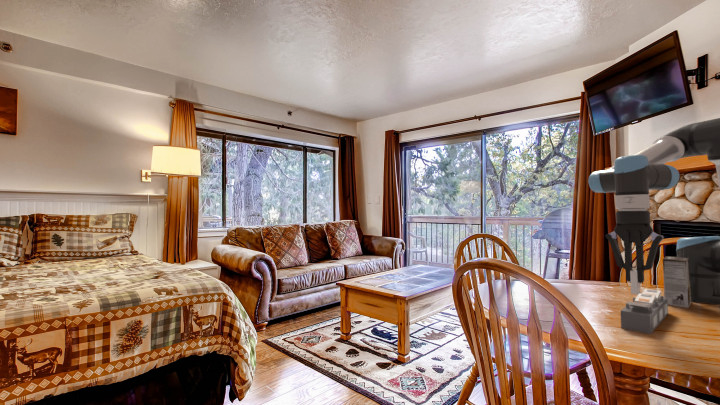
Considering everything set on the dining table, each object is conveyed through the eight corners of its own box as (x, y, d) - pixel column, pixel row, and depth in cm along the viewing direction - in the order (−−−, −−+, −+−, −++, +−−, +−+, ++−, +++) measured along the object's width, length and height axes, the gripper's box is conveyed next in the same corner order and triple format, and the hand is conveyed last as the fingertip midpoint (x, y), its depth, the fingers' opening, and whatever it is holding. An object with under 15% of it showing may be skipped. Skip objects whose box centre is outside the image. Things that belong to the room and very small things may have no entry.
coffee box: (667, 299, 124) (665, 255, 124) (691, 302, 119) (689, 257, 119) (663, 304, 118) (661, 258, 118) (689, 308, 113) (687, 260, 113)
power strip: (642, 309, 112) (641, 290, 113) (669, 313, 107) (668, 293, 107) (621, 328, 95) (620, 305, 95) (651, 334, 90) (651, 311, 90)
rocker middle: (639, 296, 105) (638, 292, 105) (655, 299, 102) (655, 294, 102) (634, 304, 101) (634, 300, 101) (652, 307, 98) (651, 302, 98)
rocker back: (645, 292, 110) (644, 288, 110) (661, 294, 107) (660, 290, 107) (641, 299, 107) (640, 295, 106) (657, 301, 104) (657, 297, 103)
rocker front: (632, 306, 99) (632, 301, 100) (650, 309, 96) (650, 304, 97) (627, 305, 96) (627, 300, 96) (645, 308, 93) (645, 303, 93)
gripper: (600, 210, 97) (603, 291, 97) (660, 209, 87) (663, 300, 87) (608, 210, 102) (611, 287, 102) (665, 209, 92) (668, 295, 91)
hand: (635, 293), depth 94 cm, fingers closed
